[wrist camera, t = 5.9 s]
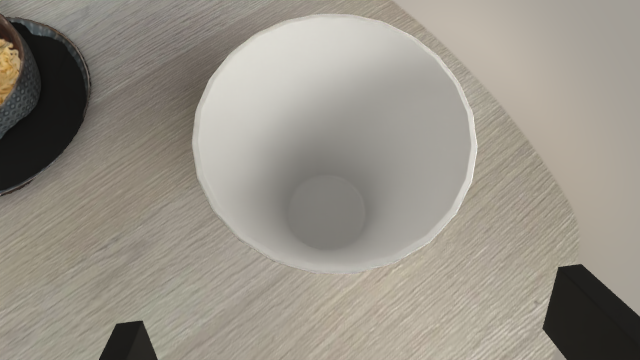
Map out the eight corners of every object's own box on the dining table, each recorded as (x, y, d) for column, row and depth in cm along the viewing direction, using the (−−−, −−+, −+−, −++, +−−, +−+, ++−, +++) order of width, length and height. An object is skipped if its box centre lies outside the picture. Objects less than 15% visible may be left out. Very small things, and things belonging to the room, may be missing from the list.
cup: (339, 119, 29) (357, -28, 16) (431, 228, 26) (539, 154, 14) (222, 198, 27) (137, 101, 14) (310, 325, 24) (303, 345, 12)
